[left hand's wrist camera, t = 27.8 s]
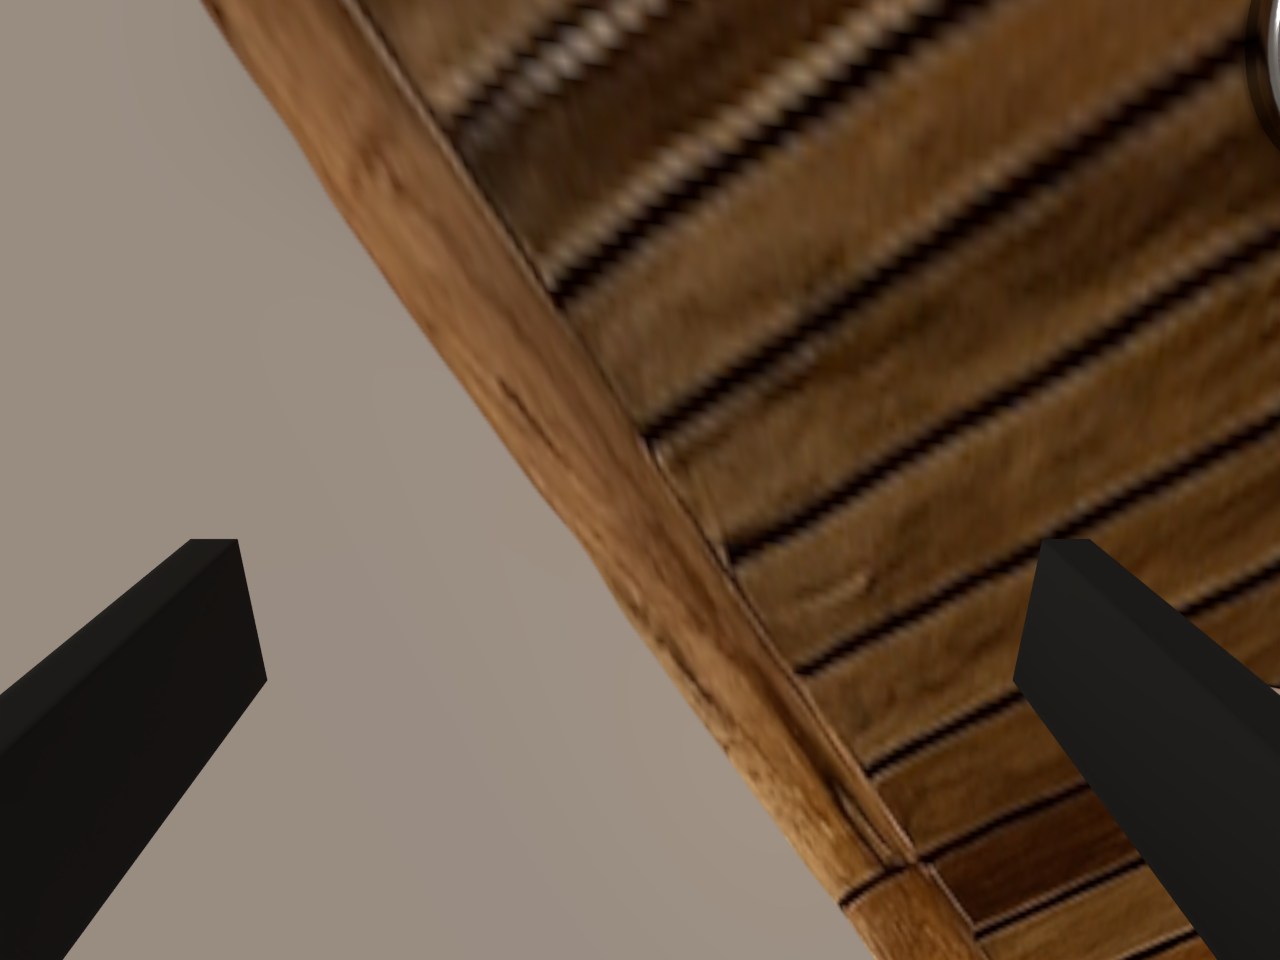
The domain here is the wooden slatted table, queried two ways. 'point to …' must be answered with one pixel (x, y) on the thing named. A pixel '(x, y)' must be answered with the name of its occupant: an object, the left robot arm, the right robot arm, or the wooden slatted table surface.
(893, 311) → the wooden slatted table surface
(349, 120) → the wooden slatted table surface
